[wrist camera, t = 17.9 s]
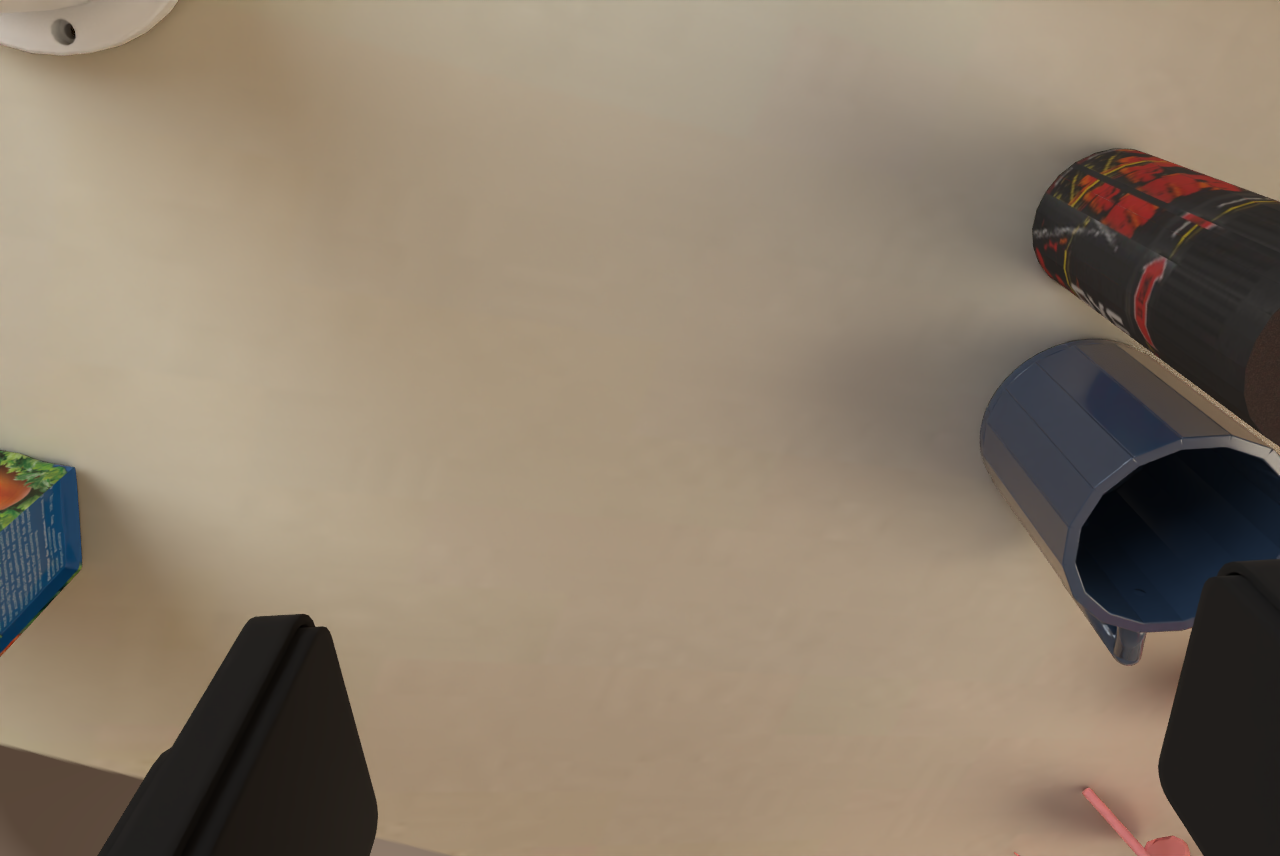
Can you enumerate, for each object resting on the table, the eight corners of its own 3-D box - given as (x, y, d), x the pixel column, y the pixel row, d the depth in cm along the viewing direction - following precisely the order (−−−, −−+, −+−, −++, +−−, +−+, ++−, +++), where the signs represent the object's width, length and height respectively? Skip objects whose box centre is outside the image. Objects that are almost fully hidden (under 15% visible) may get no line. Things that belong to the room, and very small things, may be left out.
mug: (989, 344, 41) (1082, 444, 32) (1186, 332, 40) (1332, 428, 32) (964, 564, 46) (1039, 699, 37) (1139, 554, 46) (1254, 688, 37)
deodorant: (1208, 185, 38) (1526, 305, 24) (1117, 311, 40) (1361, 485, 27) (1089, 123, 36) (1353, 213, 23) (1003, 256, 39) (1197, 408, 25)
